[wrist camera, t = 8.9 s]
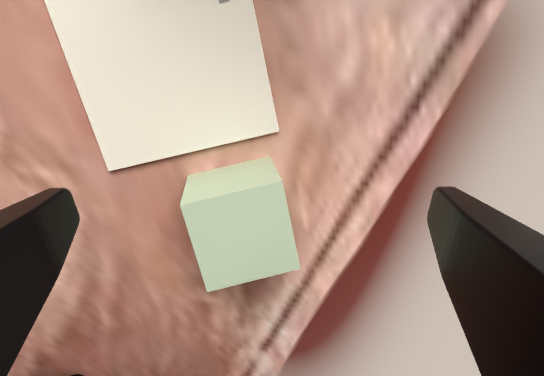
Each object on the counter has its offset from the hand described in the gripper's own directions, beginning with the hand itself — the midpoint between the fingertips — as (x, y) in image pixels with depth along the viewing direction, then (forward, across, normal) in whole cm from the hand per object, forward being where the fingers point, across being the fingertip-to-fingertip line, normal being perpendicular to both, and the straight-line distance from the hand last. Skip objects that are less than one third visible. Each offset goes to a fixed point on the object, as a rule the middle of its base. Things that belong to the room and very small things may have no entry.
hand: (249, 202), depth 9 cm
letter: (+11, +5, -2) cm, 12 cm away
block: (+10, +2, +7) cm, 12 cm away
